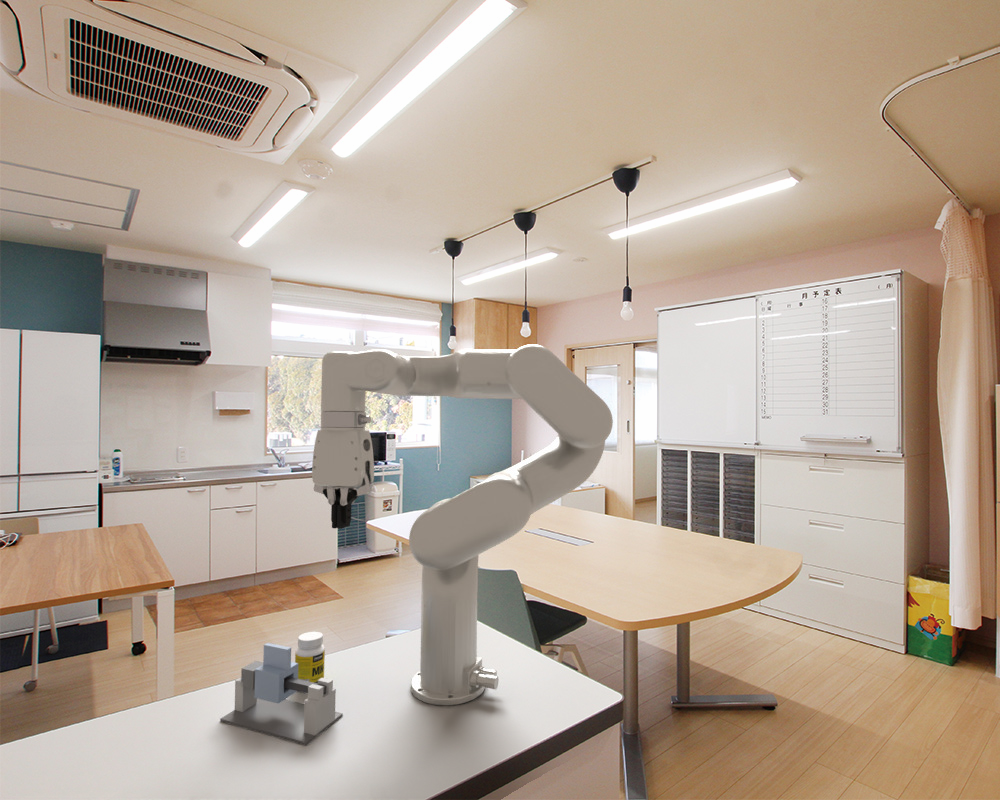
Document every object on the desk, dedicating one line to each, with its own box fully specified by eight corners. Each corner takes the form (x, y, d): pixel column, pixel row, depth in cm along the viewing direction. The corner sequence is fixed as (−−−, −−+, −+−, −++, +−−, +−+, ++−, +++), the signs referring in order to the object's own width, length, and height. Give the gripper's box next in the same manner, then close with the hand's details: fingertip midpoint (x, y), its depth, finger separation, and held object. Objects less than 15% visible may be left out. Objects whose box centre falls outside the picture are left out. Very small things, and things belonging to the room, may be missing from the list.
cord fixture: (342, 716, 82) (343, 670, 82) (306, 745, 75) (307, 694, 75) (261, 695, 88) (262, 652, 88) (220, 721, 80) (221, 674, 81)
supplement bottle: (314, 694, 88) (315, 642, 89) (288, 691, 89) (289, 640, 90) (329, 680, 93) (330, 631, 93) (304, 678, 94) (305, 629, 94)
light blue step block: (297, 690, 83) (298, 643, 83) (278, 703, 79) (279, 653, 79) (274, 685, 85) (275, 638, 85) (254, 697, 81) (255, 649, 81)
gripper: (391, 422, 96) (389, 526, 95) (319, 421, 100) (317, 520, 100) (369, 422, 89) (367, 534, 88) (293, 421, 93) (290, 528, 93)
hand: (341, 526), depth 94 cm, fingers closed
